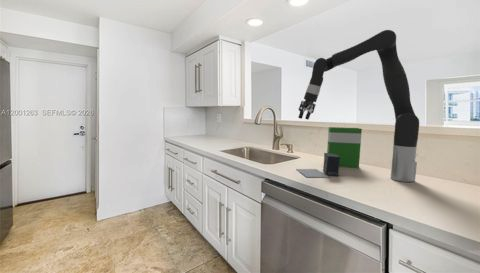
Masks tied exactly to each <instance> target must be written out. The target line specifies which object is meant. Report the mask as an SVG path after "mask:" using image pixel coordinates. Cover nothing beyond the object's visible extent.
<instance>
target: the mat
mask: <svg viewBox="0 0 480 273" xmlns="http://www.w3.org/2000/svg"><path fill="white" fill-rule="evenodd" d="M296 171H297V172H298V173H300V174H301V175H302V176H304V177H305V178H307V179H309V178H310V179H311V178H313V179H315V178H318V179H319V178H321V179H323V178H325V179H326V178H331V177H330V175H326V174H325V173H324V172H323V171H320V169H317V168H296Z"/></svg>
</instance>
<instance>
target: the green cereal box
mask: <svg viewBox="0 0 480 273" xmlns="http://www.w3.org/2000/svg"><path fill="white" fill-rule="evenodd" d="M362 131H363V129H362V128H360V127H342V126H341V127H337V126H334V127H333V126H329V127H328V133H327V148H326V151H327V152H326V153H332V154H336V155H338V156H339V157H340V159H339V168H341V167H343V168H356V169H357V168H358V169H359V168H360V161H361V160H360V157H361V144H362Z"/></svg>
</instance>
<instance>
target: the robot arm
mask: <svg viewBox="0 0 480 273" xmlns="http://www.w3.org/2000/svg"><path fill="white" fill-rule="evenodd" d="M396 34H397V33H395V31H393V29H392V30H391V29H385V30H382V31H380V32H378V33H376V34H374V35H372V36H371V37H370V38H367V39H365V40H364V41H361V42H359V43H358V44H355V45H353V46H351V47H349V48H345V49H343V50H340V51H337V52H336V53H333V54H332V55H331V56H330V57H328V58H326V59H325V58H324V57H318V58H317V59H316V60H315V62H314V63H313V67H312V72H311V77H310V79H309V80H310V81H309V83H308V86H307V88H306V91H305V93H304V97H303V99H304V100H301V102H300V105H299V107H298V111H299V114H298V119H300V120H301V119H303V116H304V114H305V112H306V115H305V120H306V121H307V120H310V118H311V117H310V116H311V114H314V112H315V108H316V106H317V105H316V103H317V100H318V98H319V95H320V91H321V88H322V85H323V82H324V74H325V72H328V71H331V70H333V69H334V68H336V67H339V66H341V65H344V64H347V63H350V62H352V61H353V60H355V59H357V58H359V57H360V56H363V55H365V54H368V53H370V52H373V51H374V52H375V51H376V52H377V55H378V57H379V59H380V63H381V67H382V68H381V69H382V78H383V82H384V87H385V89H386V90H385V91H386V92H387V95H388V98H389V99H390V102H391V104H392V107H393V111H394V116H395V117H394V118H395V119H394V120H395V123H394V132H393V133H394V134H393V146H392V158H391V169H390V179H391V180H394V181H397V182H401V183H402V182H403V183H412V182H416V176H417V175H416V174H417V168H418V167H417V164H418V163H417V161H416V156H417V155H416V154H417V146H418V139H419V133H420V131H419V130H420V129H419V128H420V119H419V117H418V116H417V115H416V113H415V111H414V108H413V105H412V102H411V93H410V86H409V85H410V84H409V80H408V77H407V73H406V71H405V68H404V65H403V64H402V63H401V60H400V58H399V56H398V50H397V35H396Z"/></svg>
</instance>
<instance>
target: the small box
mask: <svg viewBox="0 0 480 273" xmlns="http://www.w3.org/2000/svg"><path fill="white" fill-rule="evenodd" d="M323 157H324V158H323V166H322V167H323V169H322V172H323V173H324V174H326V175H327V176H329V177H330V176H332V177H339V168H340V166H339V159H340V157H339V156H338V155H336V154H332V153H327V152H324V155H323Z"/></svg>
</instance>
